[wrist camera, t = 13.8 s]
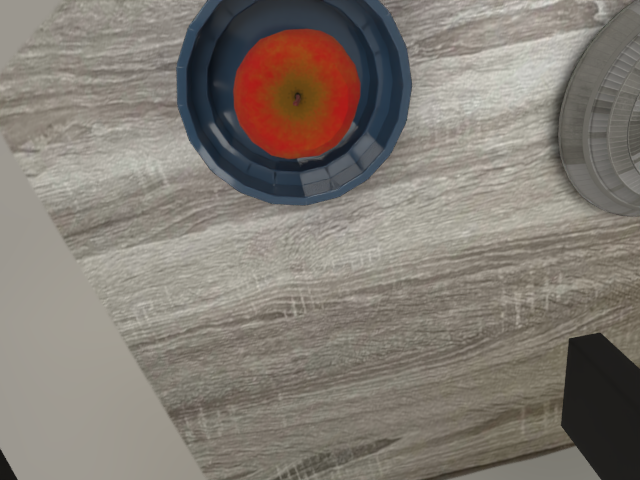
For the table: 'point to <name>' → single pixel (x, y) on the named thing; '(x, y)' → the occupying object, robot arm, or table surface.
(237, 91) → the apple
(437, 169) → the table surface
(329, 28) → the bowl
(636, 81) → the flying saucer
